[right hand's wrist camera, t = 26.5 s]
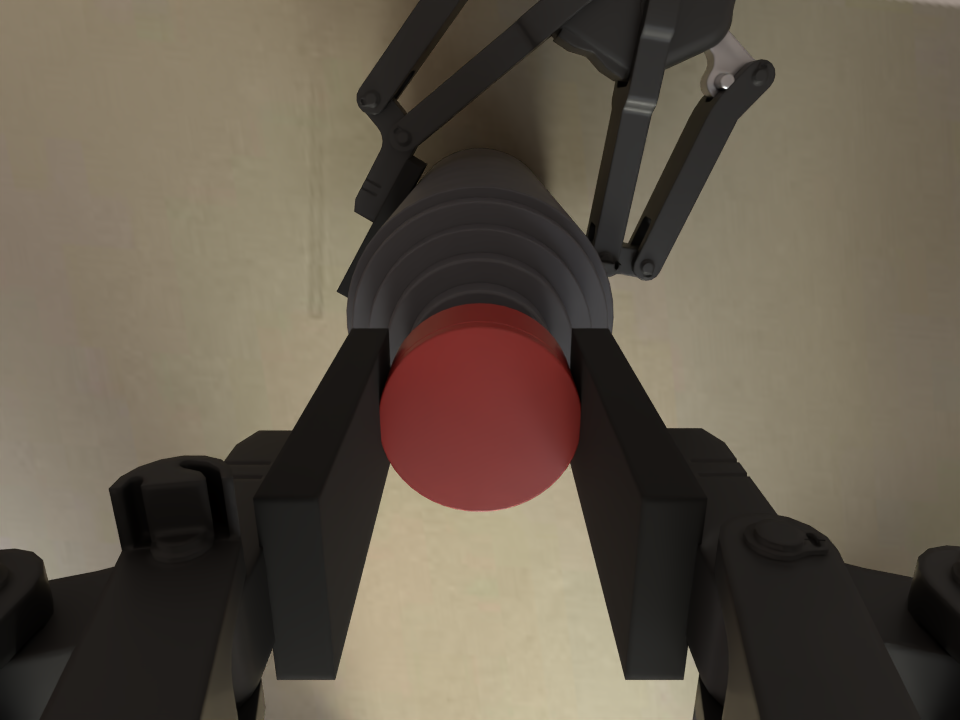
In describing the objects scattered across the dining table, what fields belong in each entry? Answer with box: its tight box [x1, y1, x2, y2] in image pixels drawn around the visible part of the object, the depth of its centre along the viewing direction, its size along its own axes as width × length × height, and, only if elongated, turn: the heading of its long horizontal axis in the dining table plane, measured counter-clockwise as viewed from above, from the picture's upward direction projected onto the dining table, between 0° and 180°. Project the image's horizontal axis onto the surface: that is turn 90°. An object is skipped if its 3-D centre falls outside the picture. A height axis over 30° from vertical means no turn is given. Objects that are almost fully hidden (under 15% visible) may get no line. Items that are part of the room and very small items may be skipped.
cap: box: [379, 303, 581, 512], centre depth 14 cm, size 4×4×2 cm
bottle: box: [347, 148, 613, 368], centre depth 25 cm, size 7×7×24 cm
